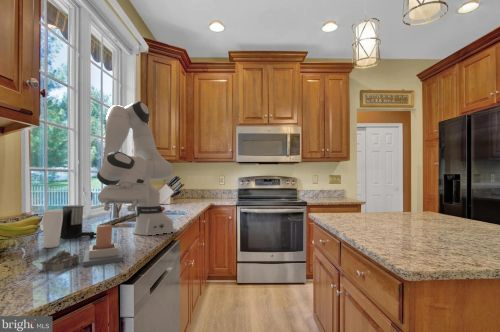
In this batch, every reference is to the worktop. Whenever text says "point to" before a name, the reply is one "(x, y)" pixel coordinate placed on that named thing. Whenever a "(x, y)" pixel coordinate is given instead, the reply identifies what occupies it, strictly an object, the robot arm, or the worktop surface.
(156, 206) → the robot arm
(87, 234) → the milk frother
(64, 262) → the grey rock frame
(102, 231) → the pillar
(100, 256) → the base board
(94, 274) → the worktop surface
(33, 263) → the worktop surface
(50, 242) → the drinking glass
